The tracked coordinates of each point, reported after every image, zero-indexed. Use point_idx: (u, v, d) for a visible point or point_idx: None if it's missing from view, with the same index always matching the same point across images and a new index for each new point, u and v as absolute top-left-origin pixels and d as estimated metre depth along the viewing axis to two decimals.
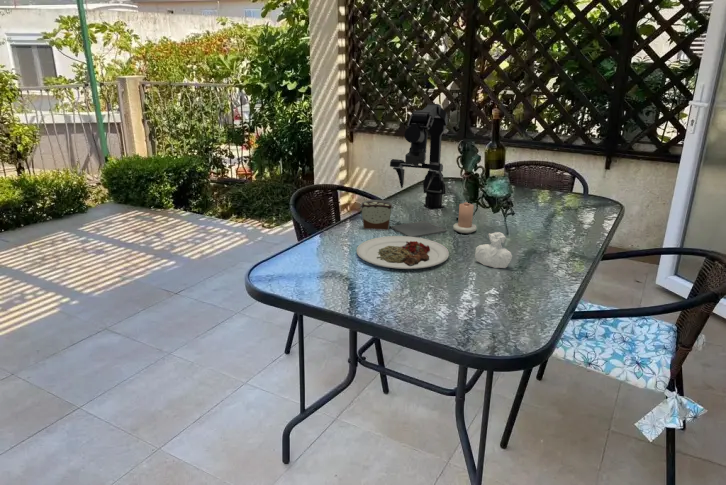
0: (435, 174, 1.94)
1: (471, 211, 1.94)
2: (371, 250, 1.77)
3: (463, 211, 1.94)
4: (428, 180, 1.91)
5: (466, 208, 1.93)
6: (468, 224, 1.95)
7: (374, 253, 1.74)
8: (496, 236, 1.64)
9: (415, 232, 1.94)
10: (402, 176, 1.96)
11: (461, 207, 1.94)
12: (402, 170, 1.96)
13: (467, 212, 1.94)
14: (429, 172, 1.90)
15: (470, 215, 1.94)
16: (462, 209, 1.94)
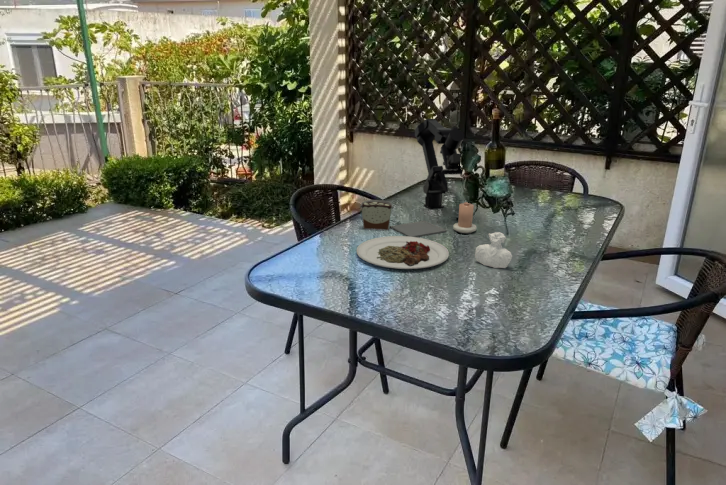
0: None
1: (471, 211, 1.94)
2: (371, 250, 1.77)
3: (463, 211, 1.94)
4: None
5: (466, 208, 1.93)
6: (468, 224, 1.95)
7: (374, 253, 1.74)
8: (496, 236, 1.64)
9: (415, 232, 1.94)
10: None
11: (461, 207, 1.94)
12: None
13: (467, 212, 1.94)
14: None
15: (470, 215, 1.94)
16: (462, 209, 1.94)
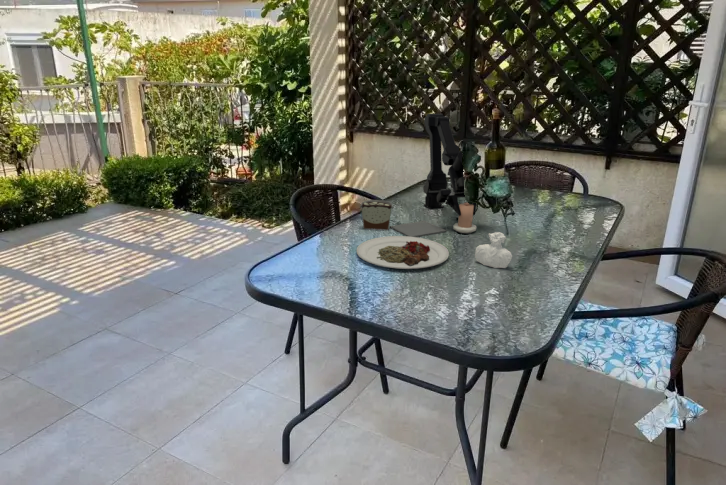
0: None
1: (471, 211, 1.94)
2: (371, 250, 1.77)
3: (463, 211, 1.94)
4: (475, 204, 1.96)
5: (466, 208, 1.93)
6: (468, 224, 1.95)
7: (374, 253, 1.74)
8: (496, 236, 1.64)
9: (415, 232, 1.94)
10: None
11: (461, 207, 1.94)
12: None
13: (467, 212, 1.94)
14: None
15: (470, 215, 1.94)
16: (462, 209, 1.94)
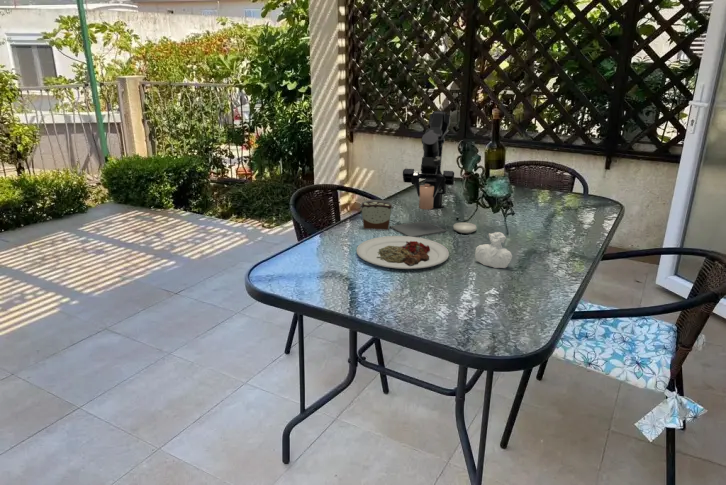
0: (441, 186, 1.97)
1: (429, 193, 1.91)
2: (371, 250, 1.77)
3: (421, 192, 1.92)
4: (436, 186, 1.93)
5: (423, 189, 1.91)
6: (426, 206, 1.93)
7: (374, 253, 1.74)
8: (496, 236, 1.64)
9: (415, 232, 1.94)
10: None
11: (420, 188, 1.93)
12: None
13: (424, 193, 1.91)
14: (438, 178, 1.92)
15: (428, 197, 1.92)
16: (420, 190, 1.92)
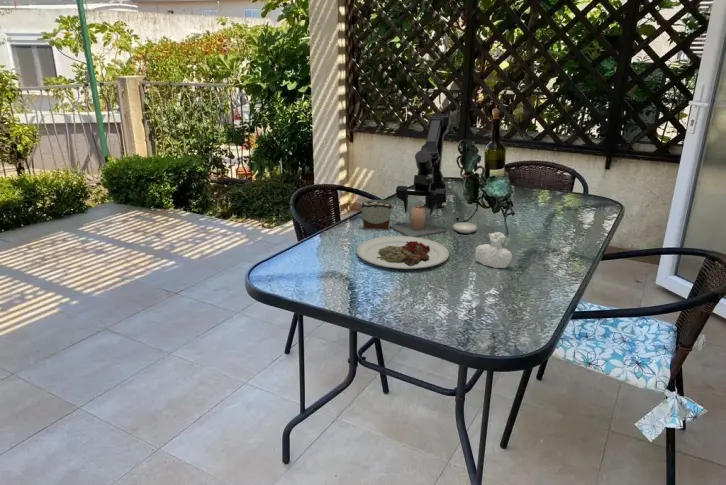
0: (439, 204, 1.98)
1: (420, 214, 1.94)
2: (371, 250, 1.77)
3: (412, 213, 1.96)
4: (433, 204, 1.95)
5: (414, 210, 1.94)
6: (417, 227, 1.96)
7: (374, 253, 1.74)
8: (496, 236, 1.64)
9: (415, 232, 1.94)
10: (407, 202, 1.98)
11: None
12: (407, 197, 1.99)
13: (415, 214, 1.95)
14: (435, 196, 1.94)
15: (419, 218, 1.95)
16: (412, 211, 1.96)
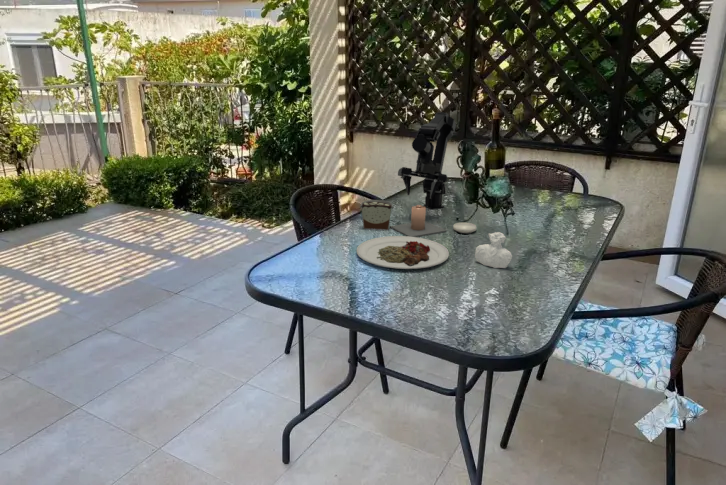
0: None
1: (420, 214, 1.94)
2: (371, 250, 1.77)
3: (412, 213, 1.96)
4: (434, 190, 2.07)
5: (414, 210, 1.95)
6: (417, 227, 1.96)
7: (374, 253, 1.74)
8: (496, 236, 1.64)
9: (415, 232, 1.94)
10: None
11: None
12: None
13: (415, 214, 1.95)
14: (437, 182, 2.06)
15: (419, 218, 1.95)
16: (412, 211, 1.96)
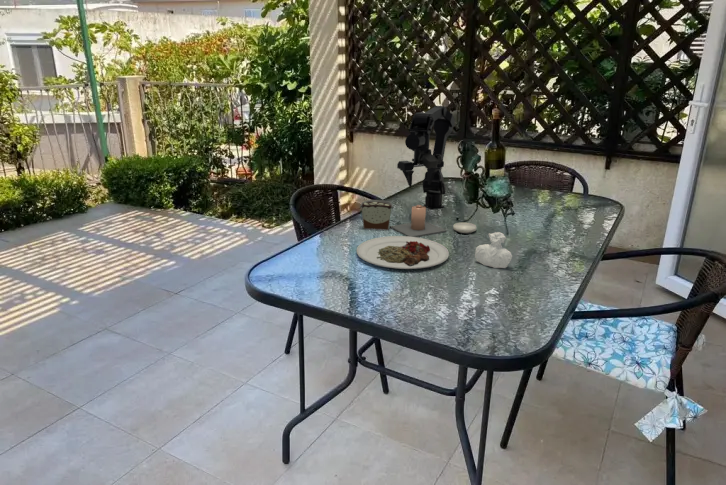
0: None
1: (420, 214, 1.94)
2: (371, 250, 1.77)
3: (412, 213, 1.96)
4: (433, 176, 2.11)
5: (414, 210, 1.95)
6: (417, 227, 1.96)
7: (374, 253, 1.74)
8: (496, 236, 1.64)
9: (415, 232, 1.94)
10: None
11: None
12: None
13: (415, 214, 1.95)
14: (436, 169, 2.09)
15: (419, 218, 1.95)
16: (412, 211, 1.96)
